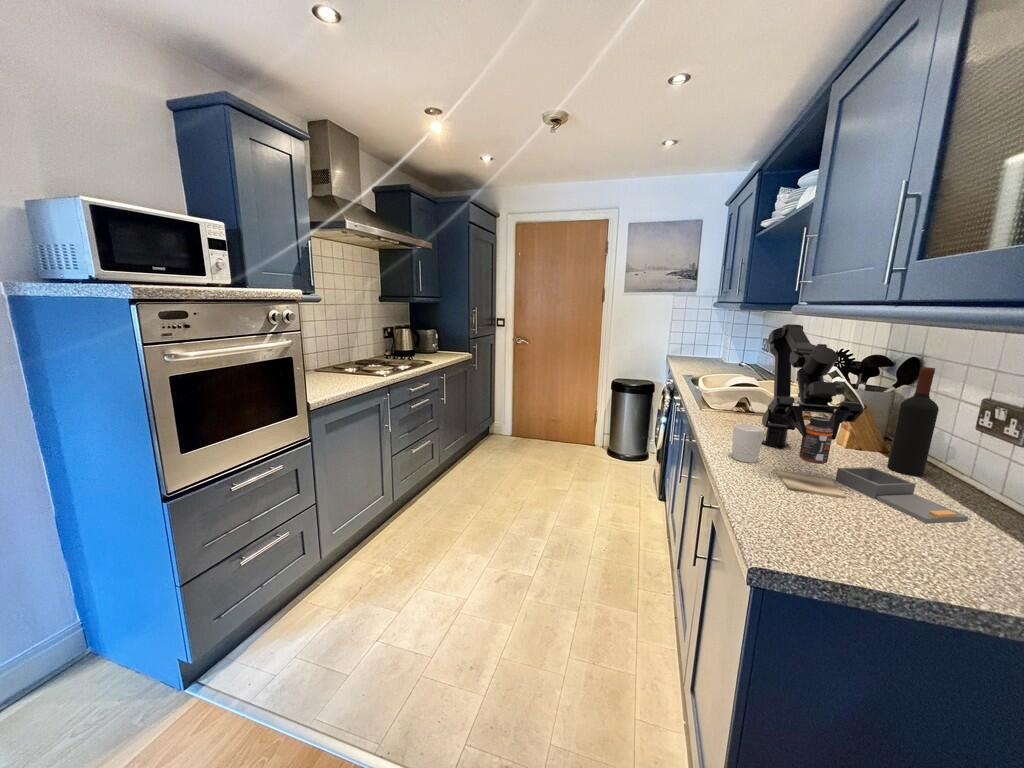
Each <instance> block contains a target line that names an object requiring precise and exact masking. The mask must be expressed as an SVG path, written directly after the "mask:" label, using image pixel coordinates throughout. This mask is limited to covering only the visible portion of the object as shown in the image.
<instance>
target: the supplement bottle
mask: <svg viewBox="0 0 1024 768" xmlns="http://www.w3.org/2000/svg"><path fill="white" fill-rule="evenodd" d="M829 425H830V418H828V417H825V416H824V417H822V416H816V415H815V416H814V415H813V416H810V419H809V423H808V424H805V428H806V436H805V437H803V436H802V438H801V443H800V448H799V458H800V459H801V460H803V461H805V462H808V463H811V464H817V465H823V464H824V465H825V464H827V462H828V460H829V455H830V451H831V450H830V449H831V445H832V435H833V430H832V429H831V428H830V426H829Z"/></svg>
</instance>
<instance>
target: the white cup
mask: <svg viewBox="0 0 1024 768" xmlns="http://www.w3.org/2000/svg"><path fill="white" fill-rule="evenodd" d="M732 432H733V433H732V445H731V446H732V447H731V448H732V449H731V451H732V452H731V457H732V458H733V459H734V460H736V461H738V460H739V461H738V462H742V463H747V462H749V464H750V463H751V464H752V463H753V464H754V463H757V462H758V460H759V454H760V451H761V447H762V445H763V444H762V441H763V437H764V432H765V428H764V427H762V426H759V425H755V424H750V423H735V424H733V431H732Z"/></svg>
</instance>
